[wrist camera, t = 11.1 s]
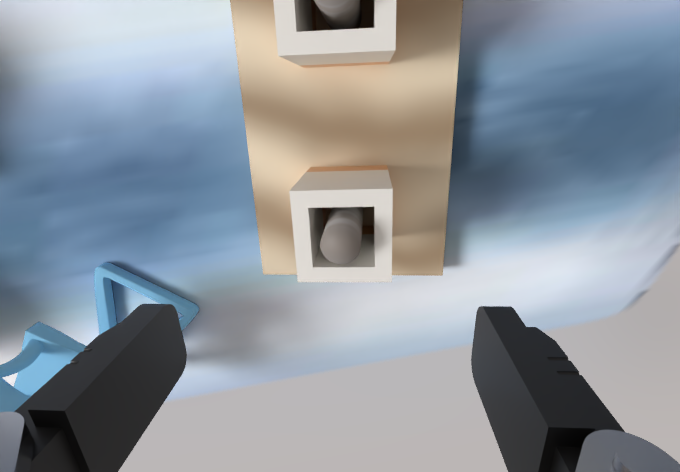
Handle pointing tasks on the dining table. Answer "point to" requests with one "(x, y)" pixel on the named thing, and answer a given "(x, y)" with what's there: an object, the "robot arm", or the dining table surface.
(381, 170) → the sleeve
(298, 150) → the pin board
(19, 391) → the chair
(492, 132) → the dining table surface
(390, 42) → the seated sleeve
